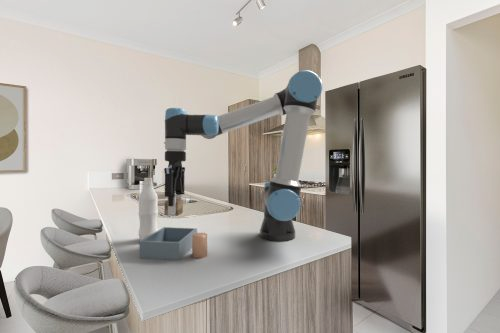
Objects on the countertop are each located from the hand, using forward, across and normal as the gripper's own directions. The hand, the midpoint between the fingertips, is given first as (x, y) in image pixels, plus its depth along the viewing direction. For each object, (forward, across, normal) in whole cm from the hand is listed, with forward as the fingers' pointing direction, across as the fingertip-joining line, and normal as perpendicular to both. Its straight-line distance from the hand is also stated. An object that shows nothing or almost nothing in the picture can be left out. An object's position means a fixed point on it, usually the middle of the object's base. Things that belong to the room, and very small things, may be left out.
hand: (175, 212), depth 94 cm
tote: (+12, +4, 0) cm, 13 cm away
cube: (0, 0, 0) cm, 1 cm away
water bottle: (+13, -5, -13) cm, 19 cm away
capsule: (+12, +8, +12) cm, 19 cm away
